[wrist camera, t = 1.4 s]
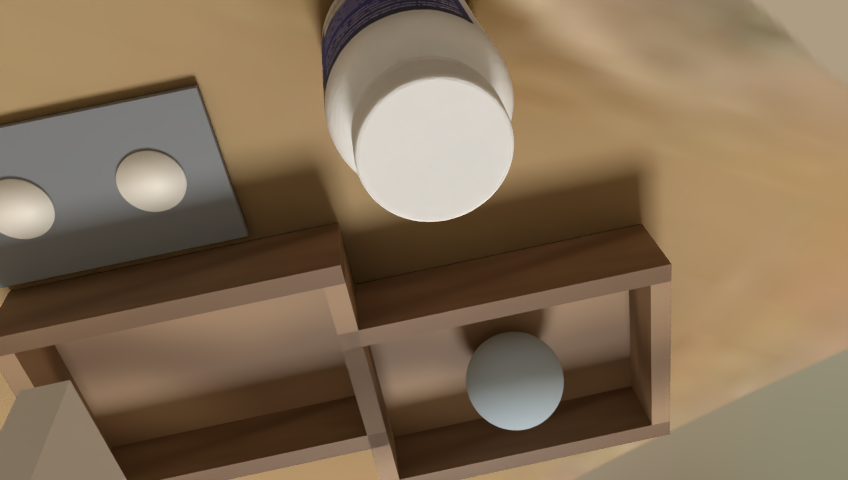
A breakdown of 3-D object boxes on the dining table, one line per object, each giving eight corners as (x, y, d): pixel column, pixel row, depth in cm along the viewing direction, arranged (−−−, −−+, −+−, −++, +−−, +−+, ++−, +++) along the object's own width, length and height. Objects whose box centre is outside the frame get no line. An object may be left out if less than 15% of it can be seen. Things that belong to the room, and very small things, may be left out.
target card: (-95, 144, 26) (-100, 149, 25) (197, 84, 26) (195, 88, 26) (-11, 286, 29) (-15, 292, 29) (248, 232, 29) (247, 237, 29)
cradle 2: (335, 288, 31) (337, 334, 28) (641, 224, 31) (671, 264, 29) (379, 444, 36) (384, 495, 33) (644, 387, 36) (669, 434, 34)
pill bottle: (288, 46, 26) (279, 160, 18) (396, -74, 24) (434, -5, 17) (401, 143, 28) (434, 278, 20) (506, 39, 26) (583, 144, 19)
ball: (452, 323, 32) (469, 388, 29) (545, 303, 32) (573, 365, 29) (465, 392, 34) (482, 460, 31) (552, 373, 34) (579, 439, 31)
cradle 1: (9, 291, 29) (-19, 341, 27) (338, 222, 29) (340, 265, 27) (103, 455, 34) (86, 510, 31) (383, 395, 34) (389, 444, 32)
